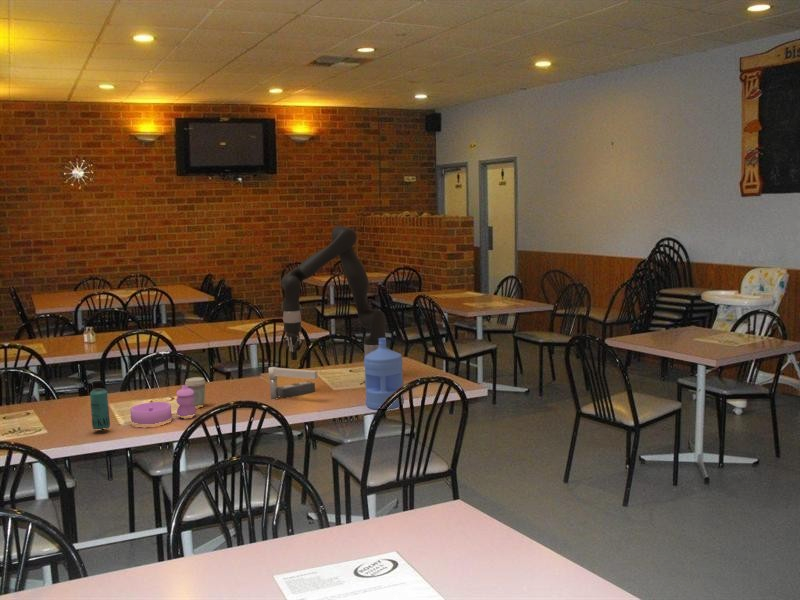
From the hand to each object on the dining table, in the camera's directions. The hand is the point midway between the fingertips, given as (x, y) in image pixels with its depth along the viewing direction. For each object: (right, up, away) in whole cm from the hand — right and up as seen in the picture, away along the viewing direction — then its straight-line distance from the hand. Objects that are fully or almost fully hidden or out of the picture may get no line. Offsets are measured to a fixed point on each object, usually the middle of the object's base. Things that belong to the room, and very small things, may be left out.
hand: (294, 359), depth 347 cm
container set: (-47, -22, -32) cm, 61 cm away
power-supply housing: (+1, -15, +2) cm, 15 cm away
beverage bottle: (-67, -24, -45) cm, 85 cm away
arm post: (-8, -17, -5) cm, 19 cm away
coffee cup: (-39, -19, -13) cm, 46 cm away
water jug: (+40, -17, -22) cm, 49 cm away
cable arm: (+1, -8, -10) cm, 13 cm away
